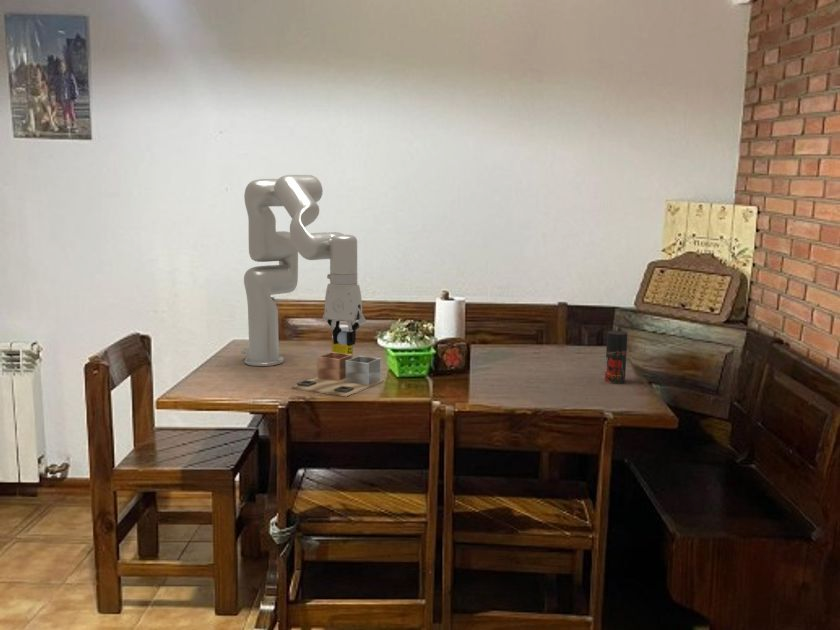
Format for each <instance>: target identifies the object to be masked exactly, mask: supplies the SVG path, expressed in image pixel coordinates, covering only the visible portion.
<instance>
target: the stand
mask: <svg viewBox="0 0 840 630" xmlns="http://www.w3.org/2000/svg"><path fill="white" fill-rule="evenodd" d="M381 383H384V379H382V358H380V357H379V358H378V357H371V356H366V355H365V356H364V355H358V356H357V355H356V356H355V357H354V356H353V355H350V354H342V353H335V352H332V351H331V352H329V353H326V354H322V355H319V356H317V376H316V377H313V378H311V379H308V380H307V379H305V380H302V381H299V382H296V384H294V385H291V386H290V387H291V390H292V389H293V390H298V391H306V392H312V393H316V392H319V393H318V394H323V393H326V394H325V395H329V394H334V395H333V396H335V395H343V396H348V395H351V394H353V393H356V392H358V393H360V392H362V390H363V391H365V390H367V389H370V388H372V387H375V386H376V385H379V384H381ZM364 389H365V390H364ZM359 391H360V392H359ZM356 394H357V393H356ZM353 395H354V394H353ZM351 396H352V395H351Z"/></svg>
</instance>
